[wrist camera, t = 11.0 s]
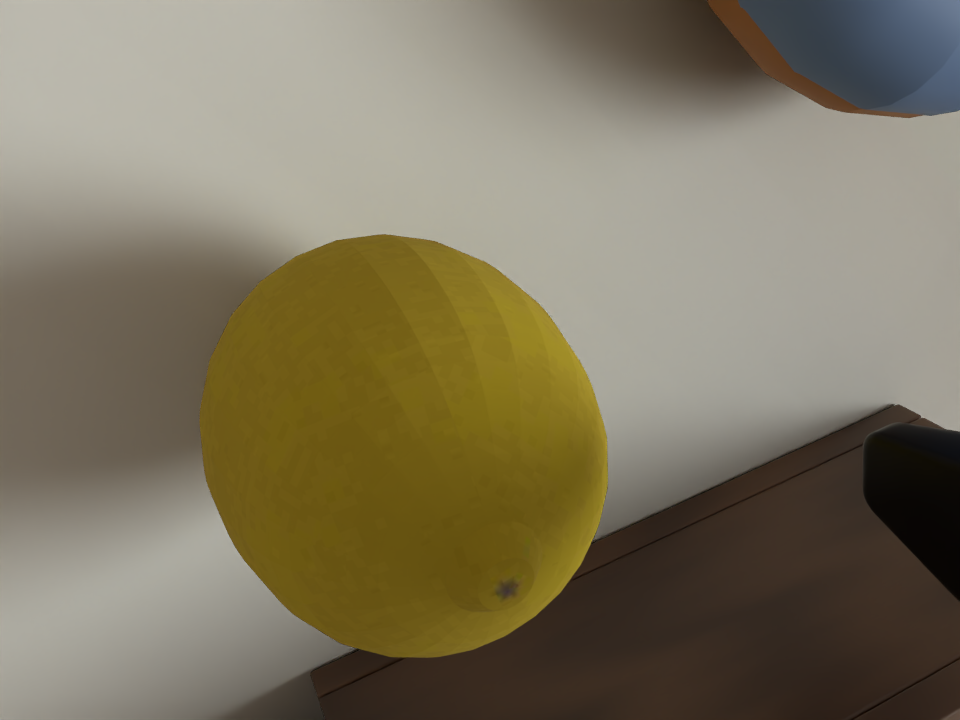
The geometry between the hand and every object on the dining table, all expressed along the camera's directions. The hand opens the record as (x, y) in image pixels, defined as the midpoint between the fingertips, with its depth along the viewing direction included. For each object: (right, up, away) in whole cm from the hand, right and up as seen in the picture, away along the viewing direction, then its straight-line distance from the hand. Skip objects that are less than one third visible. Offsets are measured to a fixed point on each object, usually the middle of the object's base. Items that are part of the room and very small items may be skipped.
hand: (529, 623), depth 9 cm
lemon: (-3, +3, +7) cm, 9 cm away
